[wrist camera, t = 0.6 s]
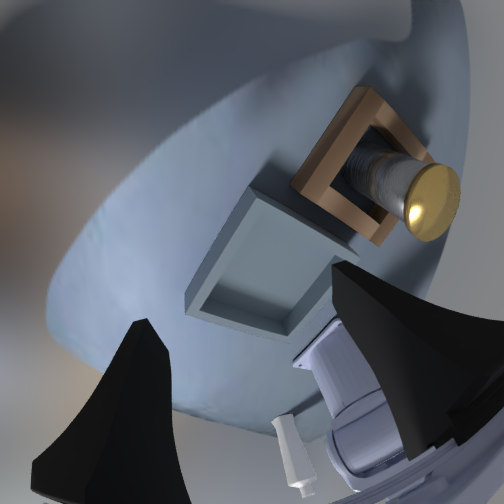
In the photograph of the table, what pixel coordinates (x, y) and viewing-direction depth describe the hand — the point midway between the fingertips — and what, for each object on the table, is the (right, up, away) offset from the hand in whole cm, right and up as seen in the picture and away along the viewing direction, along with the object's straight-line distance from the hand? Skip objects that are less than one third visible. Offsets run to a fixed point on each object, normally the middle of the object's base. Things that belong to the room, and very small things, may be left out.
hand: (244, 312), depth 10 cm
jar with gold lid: (+9, +9, +9) cm, 15 cm away
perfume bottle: (+6, -25, +29) cm, 38 cm away
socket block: (+9, +9, +9) cm, 15 cm away
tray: (+2, +1, +12) cm, 12 cm away
